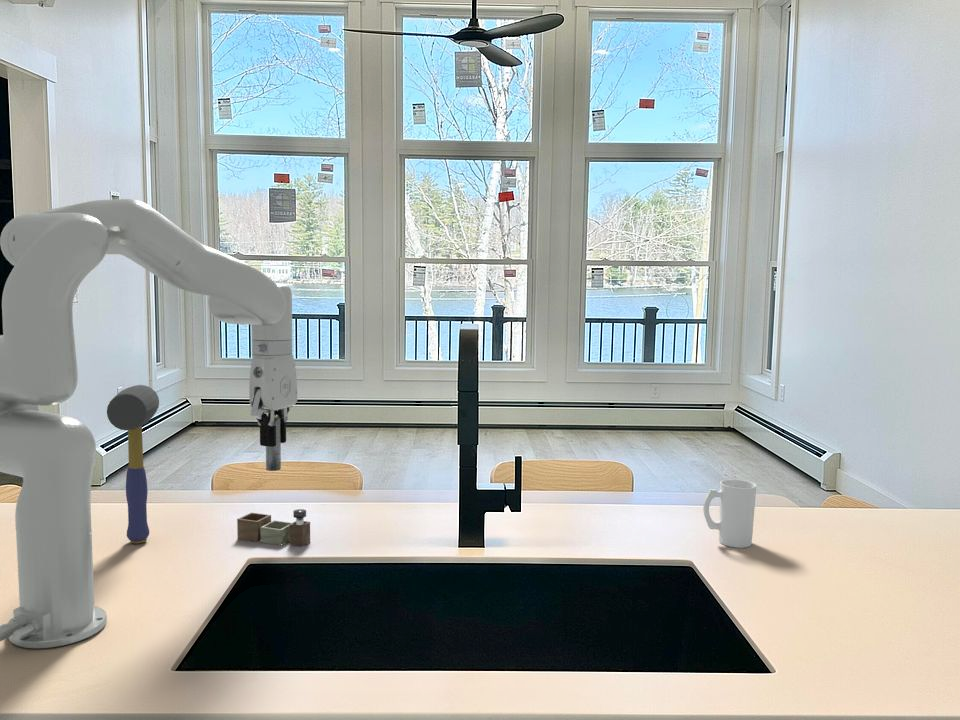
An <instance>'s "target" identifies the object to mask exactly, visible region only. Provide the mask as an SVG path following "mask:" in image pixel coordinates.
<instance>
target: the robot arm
mask: <svg viewBox="0 0 960 720" xmlns="http://www.w3.org/2000/svg"><path fill="white" fill-rule="evenodd" d="M0 250H1V252H2V254H3V257H5V260H6V261H8V262H9V263H10V265H12V266H13V268H12V269H11V270H10V271H11V272H10V273H9V275H8V277H7V278H6V281H5V284H4V287H3V291H2V296H1V297H2V298H1V311H2V312H1V315H2V316H1V317H2V333H3V334H0V473H2V474H3V473H4V474H8V475H11V476H17V477H20V478H22V485H21V489H20V491H19V494H18V498H17V500H16V505H15V511H14V512H15V513H14V517H15V518H14V519H15V520H14V521H15V523H14V524H15V525H14V526H15V534H16V535H15V537H16V557H17V574H18V575H17V576H18V594H19V595H18V596H19V598H18V600H19V607H17V608H14V609H13V612H12V613H13V615H12V616H13V617H12V618H10V619H9V620H8V622H7V623H5V624H4V623H3V624H1V625H0V642H2V641H4V640H6V639H8V640H9V641H10V643H12V644H14V646H18V647H20V648H25V649H49V648H57V647H62V646H63V647H64V646H66V645H71V644H74V643H77V642H80V641H84V640H86V639H87V638H90V637H92V636H94V635H95V634H98V632H100V631H101V630H102V629H103V628H105V626H106V624H107V620H108V618H107V617H108V615H107V612H106V611H105V609H103V608H102V607H100V606H96V605H95V589H94V588H95V585H94V563H93V561H94V559H93V558H94V557H93V556H94V555H93V536H92V535H93V534H92V533H93V531H92V513H91V511H92V509H91V508H92V505H91V491H92V481H93V473H94V467H95V463H96V455H97V454H96V453H97V447H96V446H97V444H96V440H95V436H94V435H93V433H92V431H91V430H90V428H88V426H87V425H86V424H85V423H83V422H82V421H81V420H78V419H76V418H74V417H72V416H69V415H65V414H60V413H54V412H46V411H39V406H41V407H42V406H56V405H59V404H62V403H64V402H66V401H67V400H69V399H70V398H71V397H72V396H73V394H74V393H75V391H76V389H77V386H78V379H79V378H78V371H79V370H78V361H77V353H76V352H77V351H76V341H75V331H74V320H73V316H74V315H73V314H74V313H73V312H74V311H73V305H74V298H75V295H76V293H77V290H78V288H79V286H80V285H81V283H82V282H83V281H84V279H86V276H88V275H89V274H90V273H91V272H92V271H93V270H94V269H95V268H97V267H98V265H100V264H101V262H102V261H103V260H104V258H105V256H106V255H119V256H120V255H121V256H124V257H126V258H128V259H129V260H131V261H132V262H134V263H135V264H137V265H139V266H140V267H142V268H144V269H145V270H147V271H148V272H149V273H151V274H153V275H154V276H156V277H157V278H159V279H160V280H162V281H163V282H165V284H168V285H169V286H171V287H174V288H177V289H179V290H182V291H185V292H189V293H193V294H198V295H202V296H209V297H208V300H207V301H208V309H209V312H210V313H211V314H212V315H211V316H213V317H214V318H215V319H216V320H218V321H220V322H222V323H226V324H232V325H242V326H243V325H250V326H251V329H250V330H251V331H250V332H251V335H250V337H251V340H250V341H251V357H252V358H251V363H250V373H249V388H248V389H249V394H248V395H249V405H250V407H251V410H250V415H251V416H252V417H253V418H256V420H257V424H258V426H259V444H260V446H262V447H266V446H269V447H274V446H276V426H273V425H274V414H278V417H280V425H281V444H284V443H285V444H286V443H287V422H288V415H289V411H291V410H290V409H291V408H292V407H293V406H294V405H296V403H297V402H298V379H297V371H296V369H297V368H296V363H295V362H296V361H295V357H294V355H293V293H292V289H291V287H290V286H289V285H287V284H285V283H276V282H274V280H272V279H271V278H270V277H268V276H267V275H266V274H264V273H263V272H261V271H260V270H259V269H257V268H255V267H254V266H252V265H250V264H248V263H246V262H244V261H242V260H240V259H237V258H235V257H233V256H230V255H228V254H226V253H224V252H222V251H219V250H217V249H215V248H212V247H210V246H207V245H204V244H202V243H201V242H200V241H198V240H197V239H195V238H194V237H193V236H191V235H190V234H188V233H187V232H186V231H184V230H183V229H182V228H181V227H179V226H178V225H176V224H175V223H174V222H173V221H171V220H170V219H168V218H167V217H165V216H164V215H163V214H161V213H160V212H159V211H158V210H156V209H155V208H154V207H152V206H150V205H149V204H148V203H145V202H143V201H141V200H137V199H132V198H118V199H100V200H99V199H97V200H89V201H86V202H80V203H75V204H72V205H70V204H69V205H67V206H60V207H55V208H51V209H45V210H40V211H33V212H29V213H23V214H20V215H18V216H15V217H14V218H11V220H9V222H7V223H6V224H5V226H4V227H3V229H2V231H1V233H0ZM267 415H268V416H267Z"/></svg>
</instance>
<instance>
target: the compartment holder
mask: <svg viewBox="0 0 960 720" xmlns="http://www.w3.org/2000/svg"><path fill="white" fill-rule="evenodd" d="M236 521H237V522H236V523H237V525H236V526H237V527H236V528H237V529H236V530H237V540H241V541H247V540H250V541H249V542H254V541H256V543H259V542H260V543H261V542H265V543H264V544H269V543H272V544H271V545H276V544H280V545H279V546H282V545H281V544H283V545H285V544H286V543H288V542H289V545H290V544H291V545H290V546H296V545H300V546H299V547H304V546H306V545H307V543H308V544H309V543H310V542H311V521H307V520H306V521H305V520H304V525H296V520H295V521H293V522H291V521H290V522H289V521H284V520H283V521H281V520H272V515H271V514H267V513H264V514H263V513H258V512H250V513H247V514H245V515H243V516H241V517H238V518H237V519H236ZM260 540H261V541H260ZM289 540H290V541H289ZM258 541H259V542H258ZM287 541H288V542H287ZM284 543H285V544H284ZM305 544H306V545H305Z"/></svg>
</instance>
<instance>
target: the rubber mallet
mask: <svg viewBox="0 0 960 720" xmlns="http://www.w3.org/2000/svg"><path fill="white" fill-rule="evenodd" d="M159 405H160V398H159V396H158V393H157V392H156V391H155V390H154V389H153V388H151V387H150V386H147V385H143V384H136V385H133V386H129V387H127V388H124V389H123V390H120V391H119V392H117V394H116V395H115V396H114V397H113V398H112V399H111V400H110V401H109V403H108V405H107V407H106V416H107V420H109V423H110V424H111V425H112V426H113V427H114V428H117V429H119V430H120V431H127V446H128V453H127V454H128V468H127V470H126V477H125V478H126V479H125V496H126V503H127V514H128V515H127V517H128V519H127V521H128V523H127V529H126V538H127V539H128V541H130V543H131V544H141V543H145V542H146V541H148V540H147V539H148V538H149V536H150V528H149V524H148V515H147V514H148V513H147V503H148V501H147V500H148V493H149V492H148V480H147V474H146V469H145V467H144V453H143V452H144V447H143V425H145V424H147V423H148V422H149V421H150V420H151V419H152V418H153V417H154V415H155V414H156V413H157V410H158V409H159V407H160V406H159Z"/></svg>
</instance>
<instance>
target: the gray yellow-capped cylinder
mask: <svg viewBox="0 0 960 720" xmlns="http://www.w3.org/2000/svg"><path fill="white" fill-rule="evenodd" d="M267 416H268V414H267ZM273 426H276V446H274V447H269V446H265V471H268V472H276V471H280V470H282V456H281V455H282V451H281V450H282V447H281V445H282V443H281V425H280V417H278V414H274V425H273Z"/></svg>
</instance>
